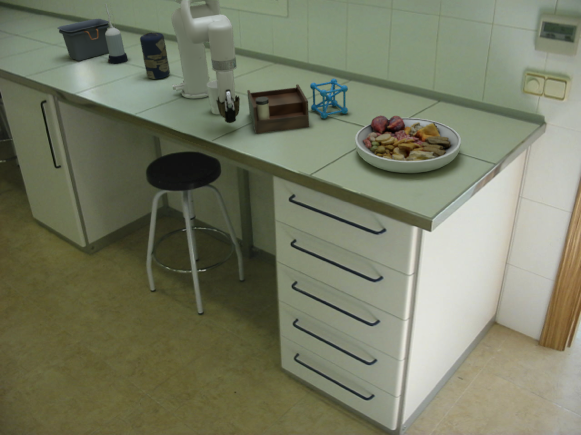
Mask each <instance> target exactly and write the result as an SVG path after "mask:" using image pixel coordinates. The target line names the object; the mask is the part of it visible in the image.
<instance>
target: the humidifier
mask: <svg viewBox="0 0 581 435" xmlns="http://www.w3.org/2000/svg"><path fill="white" fill-rule="evenodd" d="M104 5H105V9H106V15H107V21H109V23H108V24H109V27H108V28H107V31H106V33H105V35H106V41H107V46H108V50H109V53H108V59H107V60H108V62H109V64H111V65H119V64H124V63H127V62H128V61H129V59H128V55H127V52H126V51H125V47H124V46H125V45H124V42H123V37H122V33H121V31H120V30H119V29H118V28H117V27H116V24H115V23H113V24H112V21H111V14H113V12H112V11H113V10H112V9H110V10H111V11H109V8H112V5H111V4H109V6H110V7H108V4H107V2H106V3H104ZM110 13H111V14H110ZM112 20H113V22H115V19H114V18H112ZM113 25H114V26H113ZM115 27H116V28H115Z"/></svg>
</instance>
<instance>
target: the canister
mask: <svg viewBox="0 0 581 435" xmlns="http://www.w3.org/2000/svg"><path fill="white" fill-rule="evenodd" d="M139 42H140V48H141V52H142V58H143V63H144V68H145V72H146V76H147V77H148V78H149V79H151V80H159V79H164V78H167V77H168V76H169V75H170V73H171V71H170V64H169V58H168V51H167V46H166V42H165V36H164V35H163V33H160V32H147V33H144V34H143V35H141V36H140V38H139Z"/></svg>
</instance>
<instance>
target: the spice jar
mask: <svg viewBox="0 0 581 435" xmlns="http://www.w3.org/2000/svg"><path fill="white" fill-rule="evenodd" d="M255 101H256V108H257V119H258V121H259V120H267V119H270V115H269V99H268V98H267V97H258V98H256V99H255Z"/></svg>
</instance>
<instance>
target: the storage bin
mask: <svg viewBox="0 0 581 435" xmlns="http://www.w3.org/2000/svg"><path fill="white" fill-rule="evenodd" d="M109 28H110V24H109V21H108V20H105V19H103V18H92V19H87V20H83V21H79V22H73V23H70V24H69V23H68V24H64V25H60V26H58V27H57V30H58V33H59V34H61V35H62V38H63V40H64V43H65V46H66V49H67V52H68V56H69V58H70V59H73V60H75V61H77V62H78V61H79V62H81V61H83V60H87V59H90V58H94V57H99V56H102V55H107V54H109V50H108V46H107V41H106V35H105V33H106V31H107V30H108V29H109Z"/></svg>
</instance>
